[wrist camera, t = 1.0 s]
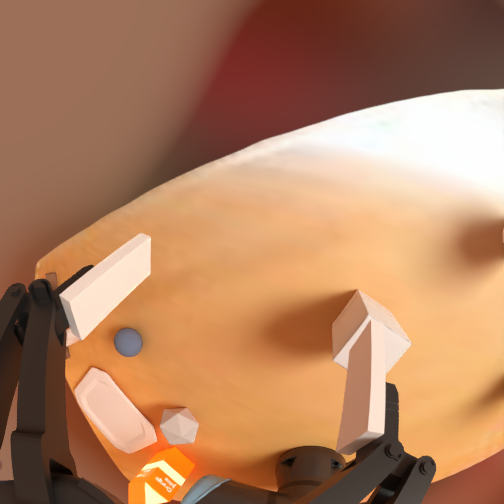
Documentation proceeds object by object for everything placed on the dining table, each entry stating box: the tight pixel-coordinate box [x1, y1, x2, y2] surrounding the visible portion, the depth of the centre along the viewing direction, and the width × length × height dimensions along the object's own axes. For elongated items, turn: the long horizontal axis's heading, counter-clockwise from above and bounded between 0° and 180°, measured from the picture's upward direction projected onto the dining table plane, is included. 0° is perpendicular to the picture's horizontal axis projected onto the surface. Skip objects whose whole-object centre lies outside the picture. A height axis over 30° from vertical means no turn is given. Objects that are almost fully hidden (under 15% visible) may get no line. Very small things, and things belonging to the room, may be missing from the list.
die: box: [159, 408, 199, 445], centre depth 48 cm, size 8×9×10 cm
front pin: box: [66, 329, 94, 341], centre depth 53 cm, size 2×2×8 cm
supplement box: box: [332, 289, 412, 375], centre depth 35 cm, size 7×7×13 cm
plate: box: [74, 367, 157, 454], centre depth 58 cm, size 25×25×2 cm
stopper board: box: [45, 273, 70, 359], centre depth 59 cm, size 24×2×2 cm, turn 0°
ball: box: [114, 328, 142, 357], centre depth 50 cm, size 6×6×6 cm
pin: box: [66, 337, 86, 347], centre depth 54 cm, size 2×2×8 cm
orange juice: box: [129, 447, 195, 504], centre depth 45 cm, size 8×9×20 cm
